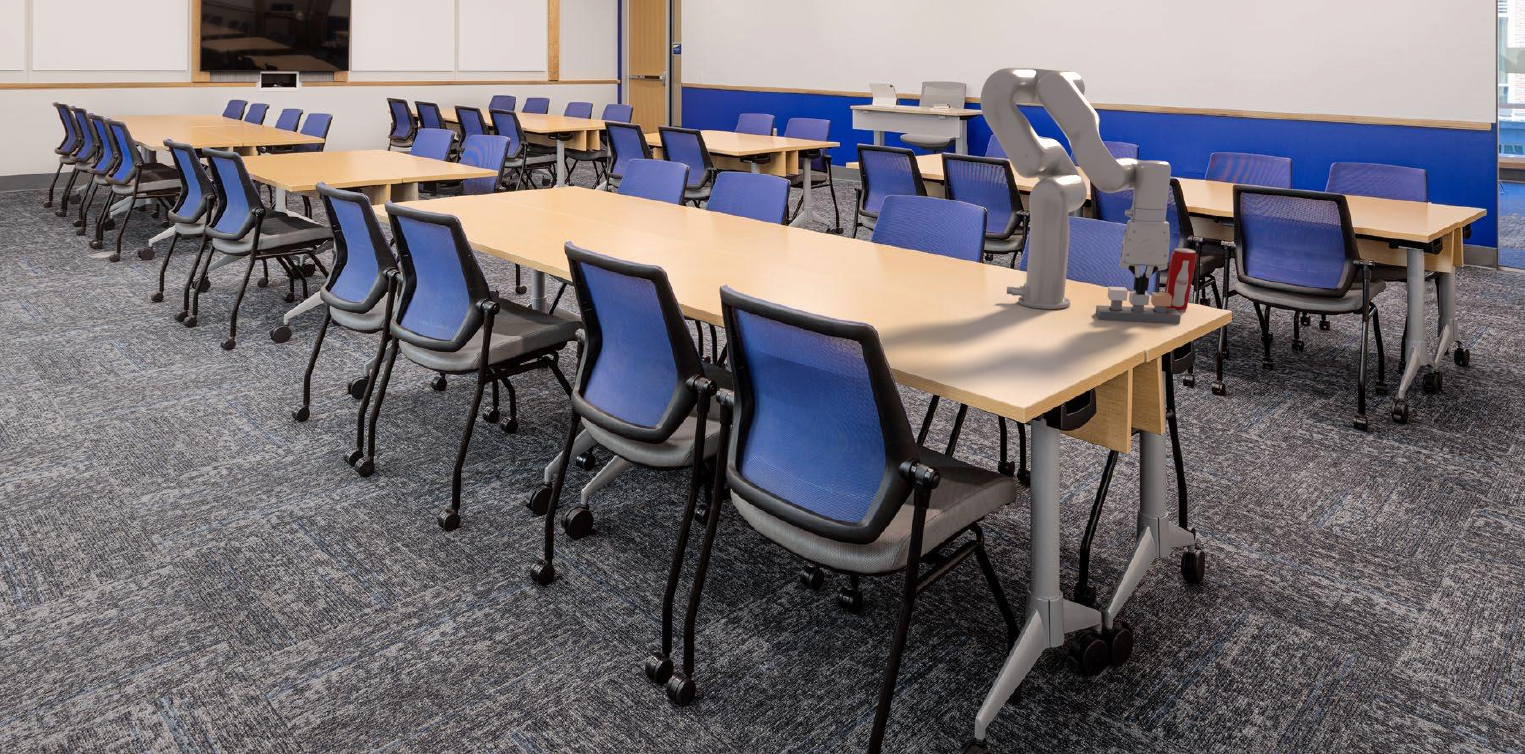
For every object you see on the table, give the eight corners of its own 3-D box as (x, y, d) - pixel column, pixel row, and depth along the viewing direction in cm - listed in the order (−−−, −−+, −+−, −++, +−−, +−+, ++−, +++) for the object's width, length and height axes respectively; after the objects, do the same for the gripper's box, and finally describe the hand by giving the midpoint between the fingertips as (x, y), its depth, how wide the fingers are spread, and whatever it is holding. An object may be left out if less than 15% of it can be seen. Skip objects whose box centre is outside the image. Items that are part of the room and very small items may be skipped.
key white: (1108, 310, 245) (1110, 290, 244) (1106, 306, 249) (1108, 286, 247) (1125, 311, 245) (1127, 290, 243) (1122, 307, 248) (1125, 287, 247)
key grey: (1130, 315, 245) (1132, 294, 243) (1127, 311, 248) (1130, 291, 247) (1147, 315, 244) (1149, 295, 243) (1144, 312, 248) (1146, 291, 246)
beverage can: (1166, 305, 260) (1173, 246, 255) (1193, 309, 256) (1200, 249, 251) (1158, 309, 255) (1165, 249, 251) (1185, 313, 251) (1192, 252, 247)
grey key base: (1099, 320, 245) (1100, 311, 244) (1095, 313, 251) (1096, 305, 251) (1179, 323, 242) (1180, 315, 241) (1173, 316, 248) (1174, 308, 248)
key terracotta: (1152, 316, 244) (1154, 295, 243) (1149, 312, 248) (1151, 292, 246) (1169, 316, 243) (1171, 296, 242) (1166, 313, 247) (1168, 292, 246)
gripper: (1117, 217, 237) (1109, 295, 242) (1186, 218, 235) (1176, 298, 240) (1112, 212, 244) (1104, 289, 250) (1179, 214, 242) (1170, 291, 247)
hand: (1140, 293), depth 245 cm, fingers closed
